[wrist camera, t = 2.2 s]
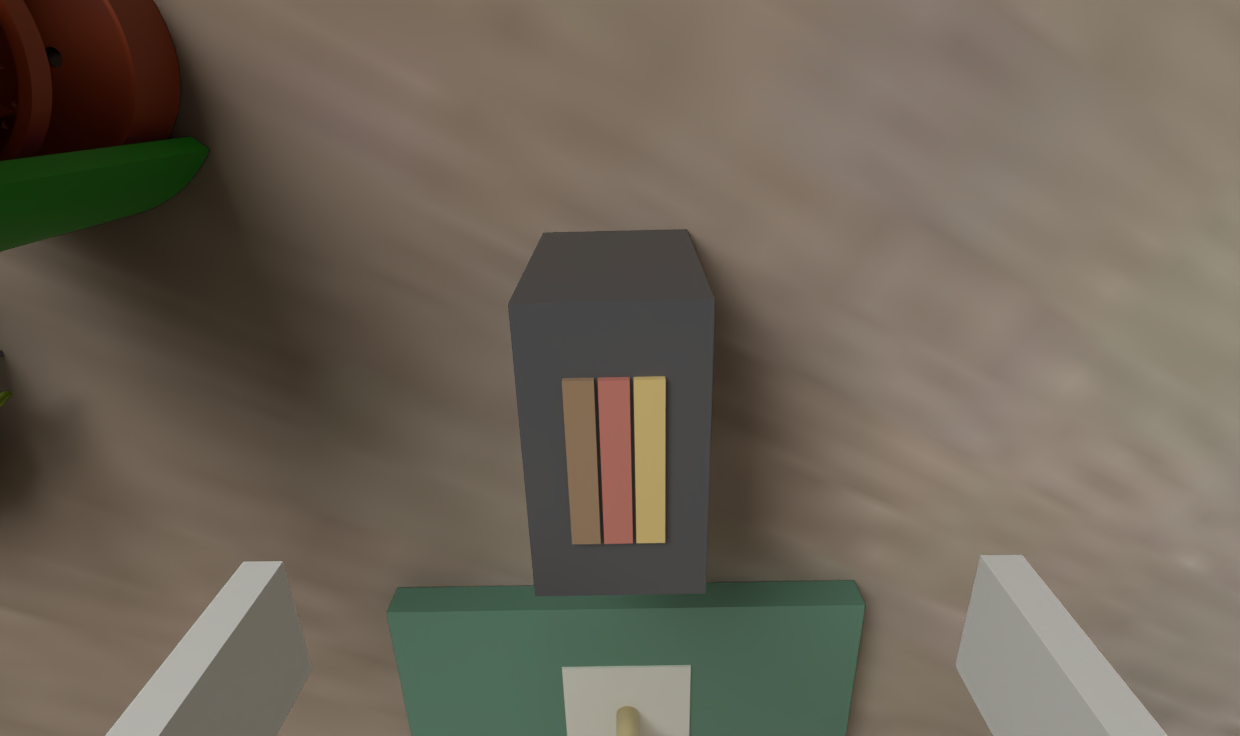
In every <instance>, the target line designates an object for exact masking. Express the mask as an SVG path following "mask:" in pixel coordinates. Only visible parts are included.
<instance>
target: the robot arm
mask: <svg viewBox="0 0 1240 736" xmlns="http://www.w3.org/2000/svg"><path fill="white" fill-rule="evenodd" d="M955 667H956V668H957V670H958V672H959V674H960V676H961V678H962V679H963V681H964V683H965V685H966V687H967V689H968V690H969V692H970V694H971V696H972V698H973V700H974V702H975V703H976V705H977V707H978V709H979V711H980V713H981V714H982V716H983V718H984V720H985V722H986V724H987V726H988V727H989V729H990V731H991V733H992V735H993V736H1167V734H1166V733H1165V732H1164V731H1163V729H1162V728H1161V727H1160V726H1159V724H1158V723H1157V722H1156V721H1155V719H1154V718H1153V717H1152V716H1151V714H1150V713H1149V712H1148V711H1147V709H1146V708H1145V707H1144V706H1143V705H1142V703H1141V702H1140V701H1139V700H1138V698H1137V697H1136V696H1135V695H1134V693H1133V692H1132V691H1131V690H1130V688H1129V687H1128V686H1127V685H1126V683H1125V682H1124V681H1123V680H1122V678H1121V677H1120V676H1119V675H1118V673H1117V672H1116V671H1115V670H1114V669H1113V667H1112V666H1111V665H1110V664H1109V662H1108V661H1107V660H1106V659H1105V657H1104V656H1103V655H1102V654H1101V652H1100V651H1099V650H1098V649H1097V647H1096V646H1095V645H1094V644H1093V642H1092V641H1091V640H1090V639H1089V637H1088V636H1087V635H1086V634H1085V632H1084V631H1083V630H1082V629H1081V628H1080V626H1079V625H1078V624H1077V623H1076V621H1075V620H1074V619H1073V618H1072V616H1071V615H1070V614H1069V613H1068V611H1067V610H1066V609H1065V608H1064V606H1063V605H1062V604H1061V603H1060V601H1059V600H1058V599H1057V598H1056V596H1055V595H1054V594H1053V593H1052V591H1051V590H1050V589H1049V588H1048V587H1047V585H1046V584H1045V583H1044V582H1043V580H1042V579H1041V578H1040V577H1039V575H1038V574H1037V573H1036V572H1035V570H1034V569H1033V568H1032V567H1031V565H1030V564H1029V563H1028V562H1027V560H1026V559H1025V558H1024V557H1023V555H980V559H979V564H978V568H977V572H976V577H975V581H974V586H973V590H972V595H971V599H970V603H969V608H968V612H967V617H966V621H965V625H964V630H963V634H962V639H961V643H960V648H959V652H958V656H957V661H956V665H955ZM311 670H312V667H311V663H310V659H309V655H308V652H307V648H306V644H305V641H304V637H303V633H302V630H301V626H300V622H299V619H298V615H297V611H296V607H295V604H294V600H293V596H292V593H291V589H290V585H289V582H288V578H287V574H286V570H285V567H284V563H283V561H264V562H243V563H242V564H241V565H240V567H239V568H238V569H237V570H236V572H235V573H234V574H233V575H232V577H231V578H230V579H229V580H228V582H227V583H226V584H225V586H224V587H223V588H222V589H221V591H220V592H219V593H218V594H217V596H216V597H215V598H214V599H213V601H212V602H211V603H210V604H209V606H208V607H207V608H206V609H205V611H204V612H203V613H202V614H201V616H200V617H199V618H198V620H197V621H196V622H195V623H194V625H193V626H192V627H191V628H190V630H189V631H188V632H187V633H186V635H185V636H184V637H183V638H182V640H181V641H180V642H179V643H178V645H177V646H176V647H175V648H174V650H173V651H172V652H171V654H170V655H169V656H168V657H167V659H166V660H165V661H164V662H163V664H162V665H161V666H160V667H159V669H158V670H157V671H156V672H155V674H154V675H153V676H152V677H151V679H150V680H149V681H148V683H147V684H146V685H145V686H144V688H143V689H142V690H141V691H140V693H139V694H138V695H137V696H136V698H135V699H134V700H133V701H132V703H131V704H130V705H129V706H128V708H127V709H126V710H125V711H124V713H123V714H122V715H121V717H120V718H119V719H118V720H117V722H116V723H115V724H114V725H113V727H112V728H111V729H110V730H109V732H108V733H107V734H106V735H105V736H277V734H278V732H279V730H280V728H281V726H282V724H283V722H284V721H285V719H286V717H287V715H288V713H289V711H290V709H291V708H292V706H293V704H294V702H295V700H296V698H297V696H298V695H299V693H300V691H301V689H302V687H303V685H304V683H305V681H306V680H307V678H308V676H309V674H310V672H311Z"/></svg>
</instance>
